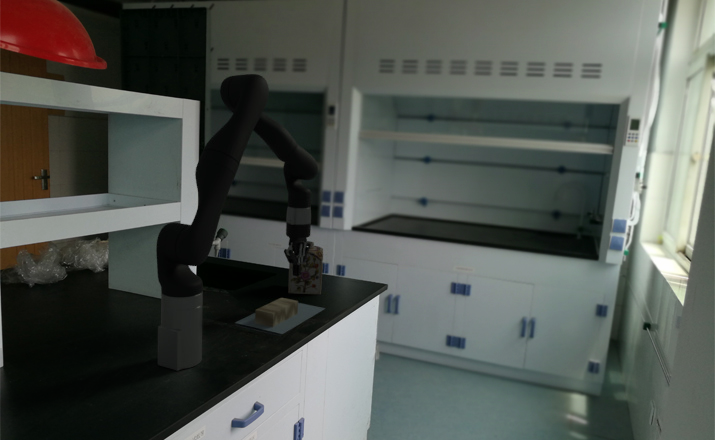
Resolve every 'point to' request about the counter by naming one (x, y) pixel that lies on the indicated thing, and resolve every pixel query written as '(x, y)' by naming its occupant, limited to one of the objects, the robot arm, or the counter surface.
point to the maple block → (276, 312)
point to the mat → (303, 314)
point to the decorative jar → (308, 273)
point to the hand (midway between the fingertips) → (296, 275)
